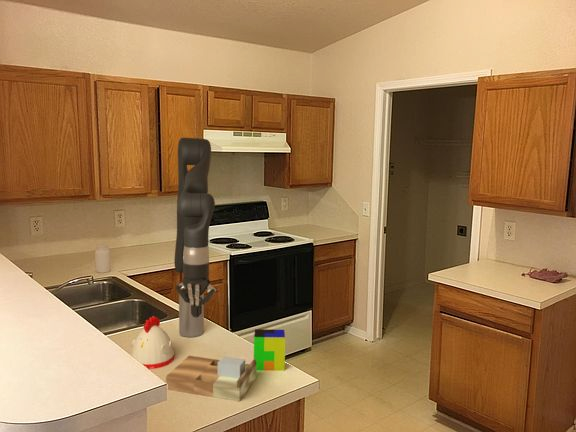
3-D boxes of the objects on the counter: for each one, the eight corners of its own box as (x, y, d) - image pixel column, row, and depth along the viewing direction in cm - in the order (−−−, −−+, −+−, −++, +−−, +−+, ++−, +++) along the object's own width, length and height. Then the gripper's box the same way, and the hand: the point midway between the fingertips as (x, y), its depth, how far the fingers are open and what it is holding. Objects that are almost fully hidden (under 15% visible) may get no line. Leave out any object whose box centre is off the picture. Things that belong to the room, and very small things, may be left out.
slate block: (223, 368, 147) (223, 356, 147) (244, 371, 146) (245, 359, 145) (217, 375, 143) (217, 362, 143) (239, 378, 141) (239, 365, 141)
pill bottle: (92, 272, 266) (91, 246, 264) (100, 269, 274) (99, 243, 272) (105, 273, 265) (105, 246, 263) (113, 269, 273) (112, 243, 271)
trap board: (188, 367, 157) (188, 349, 156) (256, 377, 151) (256, 359, 150) (166, 389, 142) (165, 370, 141) (239, 401, 136) (239, 381, 136)
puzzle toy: (283, 357, 166) (284, 329, 164) (284, 370, 156) (285, 341, 154) (254, 357, 165) (255, 329, 164) (253, 370, 156) (253, 341, 154)
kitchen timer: (122, 364, 157) (120, 320, 155) (147, 348, 170) (147, 307, 168) (158, 372, 153) (157, 327, 151) (181, 355, 166) (181, 313, 163)
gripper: (222, 259, 144) (221, 314, 147) (181, 255, 147) (182, 309, 150) (211, 265, 137) (211, 323, 140) (169, 261, 140) (170, 318, 143)
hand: (196, 316), depth 145 cm, fingers closed
